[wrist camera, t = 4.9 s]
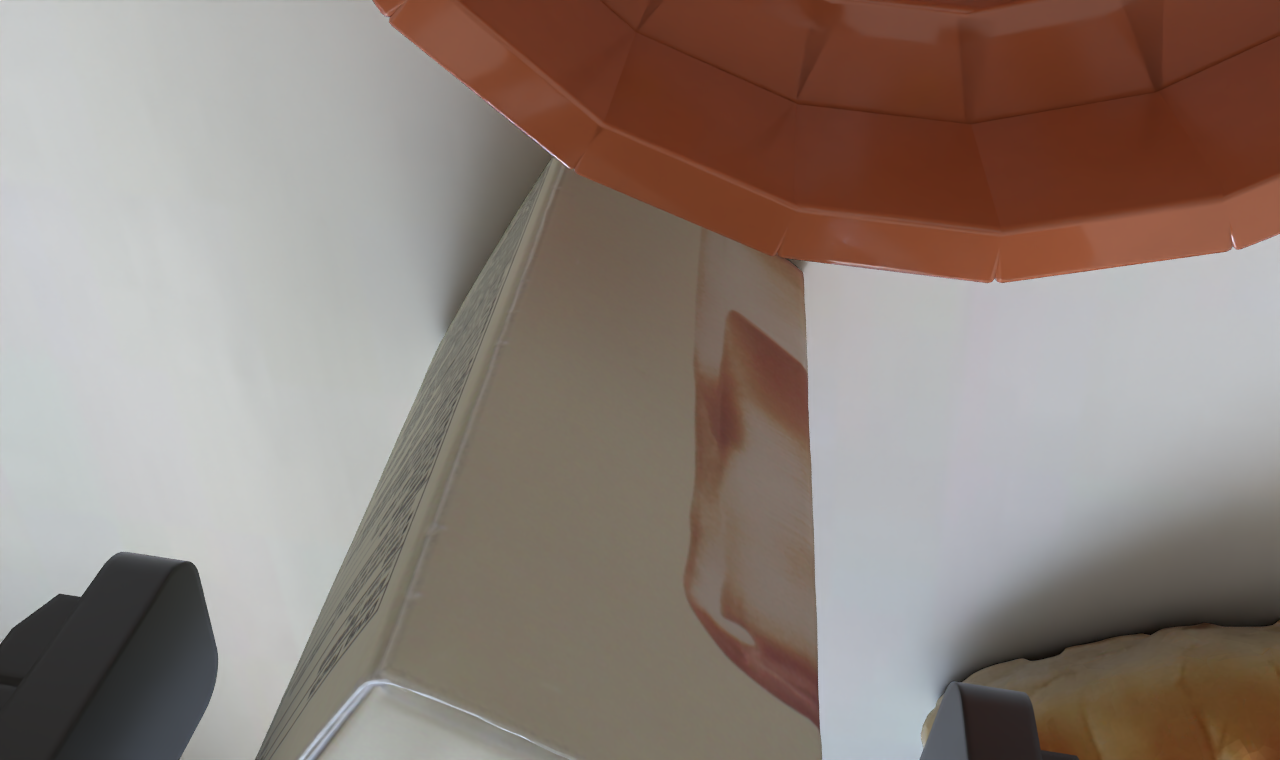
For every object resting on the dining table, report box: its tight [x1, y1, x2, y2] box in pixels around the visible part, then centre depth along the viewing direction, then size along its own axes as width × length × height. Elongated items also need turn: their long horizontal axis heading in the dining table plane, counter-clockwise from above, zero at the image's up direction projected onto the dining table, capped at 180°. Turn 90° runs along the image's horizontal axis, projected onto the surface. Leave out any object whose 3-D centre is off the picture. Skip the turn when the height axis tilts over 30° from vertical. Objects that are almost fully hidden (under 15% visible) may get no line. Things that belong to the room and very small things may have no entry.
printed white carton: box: [255, 157, 822, 760], centre depth 14 cm, size 5×4×10 cm
